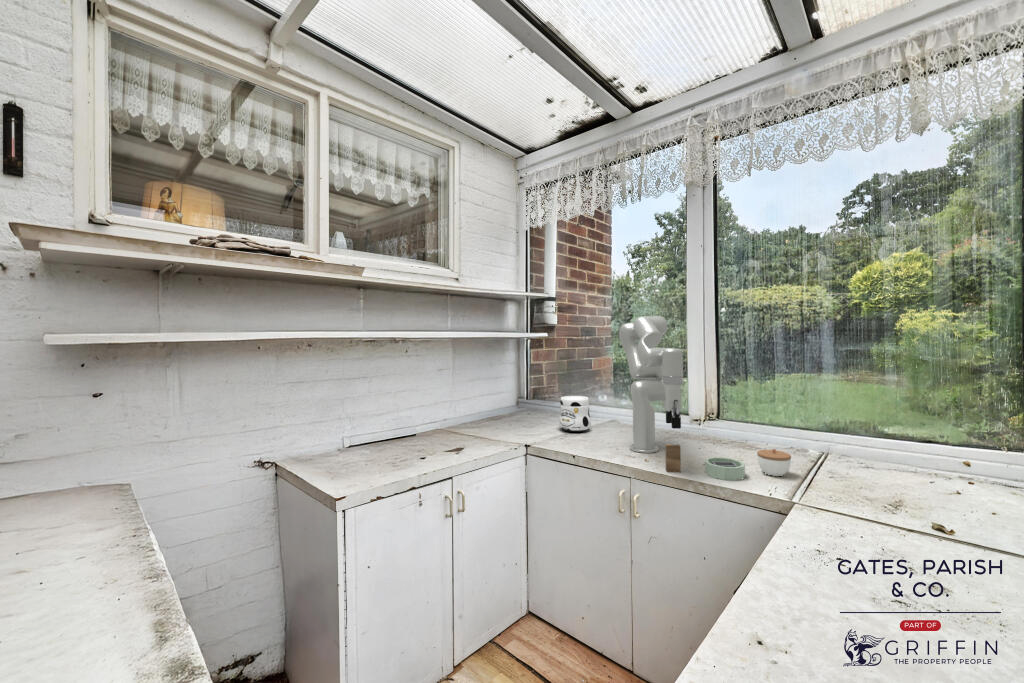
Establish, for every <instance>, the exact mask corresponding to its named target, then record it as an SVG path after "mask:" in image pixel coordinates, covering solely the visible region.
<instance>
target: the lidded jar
mask: <svg viewBox="0 0 1024 683" xmlns="http://www.w3.org/2000/svg"><path fill="white" fill-rule="evenodd" d="M756 453H757V463H758V466H759V469H760V470H761V471H762V472H765V473H766V474H769V475H773V476H772V477H774V476H782V477H784V476H785V475H786V474H787V473H788V472H789V471H790V468H791V462H792V455H791V454H790V453H788V452H785V451H781V450H776V448H772V449H759V450H758V451H756ZM765 473H764V474H765ZM766 474H765V475H766ZM769 475H768V476H769ZM783 475H784V476H783Z"/></svg>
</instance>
